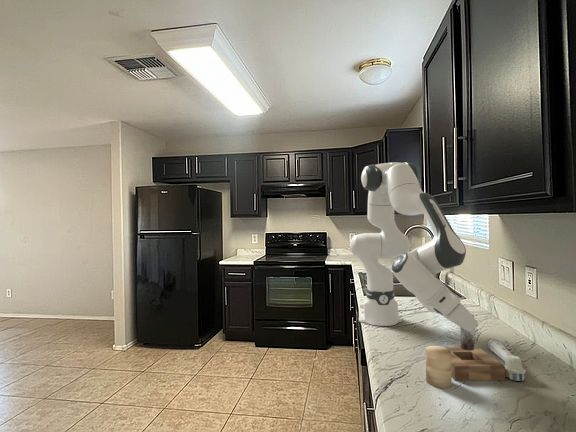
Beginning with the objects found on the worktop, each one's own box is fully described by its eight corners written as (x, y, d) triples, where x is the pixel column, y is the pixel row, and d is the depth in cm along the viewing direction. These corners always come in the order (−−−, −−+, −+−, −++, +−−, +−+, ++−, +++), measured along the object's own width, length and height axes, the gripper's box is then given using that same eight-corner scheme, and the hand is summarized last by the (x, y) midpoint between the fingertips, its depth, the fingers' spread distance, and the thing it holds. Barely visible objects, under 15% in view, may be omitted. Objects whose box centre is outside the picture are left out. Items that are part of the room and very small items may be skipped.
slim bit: (458, 345, 104) (458, 313, 104) (470, 345, 104) (469, 313, 104) (464, 350, 100) (464, 316, 100) (476, 350, 100) (476, 316, 100)
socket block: (434, 359, 110) (434, 347, 110) (477, 359, 110) (477, 346, 110) (454, 380, 96) (454, 366, 96) (505, 380, 96) (504, 365, 96)
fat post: (422, 377, 98) (422, 345, 98) (445, 376, 98) (444, 345, 98) (431, 388, 92) (431, 355, 92) (455, 388, 91) (455, 354, 91)
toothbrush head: (501, 338, 117) (527, 357, 94) (502, 358, 117) (529, 382, 93) (484, 337, 119) (505, 354, 96) (485, 356, 118) (507, 379, 95)
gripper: (416, 297, 113) (446, 326, 113) (444, 314, 92) (480, 350, 92) (429, 283, 113) (459, 313, 113) (460, 298, 92) (497, 333, 92)
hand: (469, 330), depth 102 cm, fingers closed on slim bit, 4 cm apart
